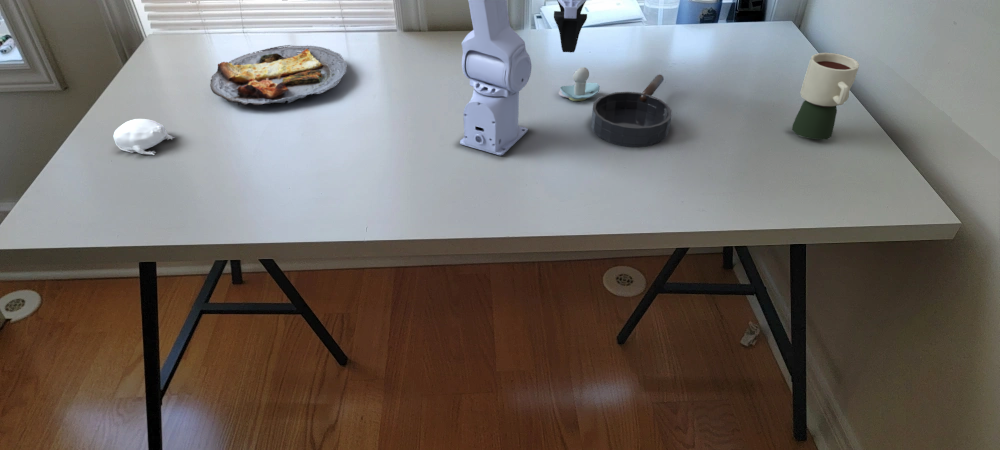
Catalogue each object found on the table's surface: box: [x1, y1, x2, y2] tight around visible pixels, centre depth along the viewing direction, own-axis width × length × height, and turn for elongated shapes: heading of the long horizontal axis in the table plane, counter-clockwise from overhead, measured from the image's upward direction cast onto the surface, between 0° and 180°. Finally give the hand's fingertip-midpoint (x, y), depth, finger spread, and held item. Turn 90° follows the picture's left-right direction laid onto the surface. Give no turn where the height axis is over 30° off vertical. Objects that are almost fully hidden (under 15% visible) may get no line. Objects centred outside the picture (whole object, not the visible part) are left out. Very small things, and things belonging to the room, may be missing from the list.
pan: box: [590, 91, 673, 148], centre depth 110 cm, size 13×13×4 cm
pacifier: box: [558, 67, 601, 102], centre depth 119 cm, size 7×6×6 cm
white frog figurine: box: [113, 118, 176, 156], centre depth 105 cm, size 8×7×4 cm
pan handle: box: [640, 74, 665, 102], centre depth 117 cm, size 10×2×2 cm, turn 151°
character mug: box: [791, 52, 860, 140], centre depth 105 cm, size 11×7×13 cm, turn 3°
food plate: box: [209, 44, 348, 106], centre depth 124 cm, size 25×23×4 cm
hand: (569, 42), depth 118 cm, fingers open, 7 cm apart
